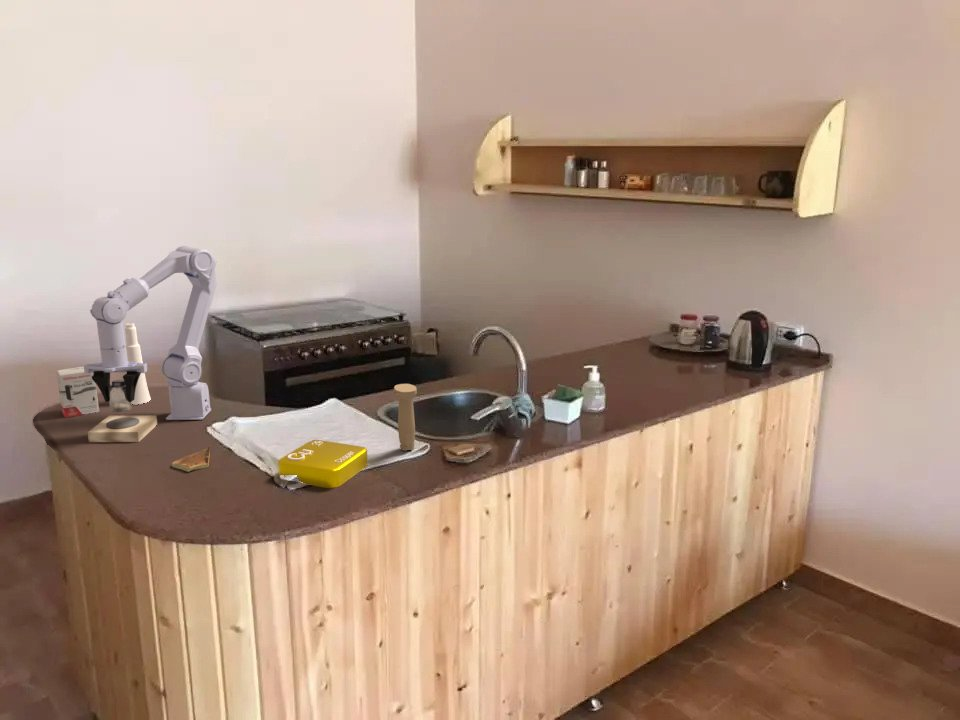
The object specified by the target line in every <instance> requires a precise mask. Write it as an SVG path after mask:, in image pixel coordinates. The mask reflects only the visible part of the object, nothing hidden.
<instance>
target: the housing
mask: <svg viewBox="0 0 960 720" xmlns="http://www.w3.org/2000/svg"><path fill="white" fill-rule="evenodd" d="M108 394H109V402H108V403H109V410H110V412H114V413H122V412H127V411H130V410H132V409H133V405H132V402H128V398H127V389H126V385H125V382H124V379H116V380H112V381H111V383H110V385H108Z"/></svg>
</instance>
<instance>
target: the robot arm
mask: <svg viewBox="0 0 960 720" xmlns="http://www.w3.org/2000/svg"><path fill="white" fill-rule="evenodd" d="M216 265H217V260H216V258H215V257H214V255H213V254H212V252H211V251H210V250H208V249H206V248H197V247H191V246H187V245H181V246H178V247H177V248H176V249H175V250H172V251H170V252H169V253H168V255H167V256H166V257H165V258H164V259H162V260H161V261H160V262H159V263H157V264H156V265H155V266H154V267H152V268H151V269H150V270H149V271H147V272H146V273H145V274H143V275H142V276H141V277H140V278H137V277H136V278H135V277H131V278H126V279H124V280H123V281H122V282H123V284H121V285H120V286H119V287H117V288H116V289H114V290H113V291H111V290H110V291H108V292H107V294H106V295H107V296H100V297H98V298H96V299H95V300H94V301H93V304H92V305H91V308H90V310H89V312H90V314H91V316H92V317H93V318H94V319H95V321H96V327H97V336H98V343H99V348H100V349H99V350H100V357H101V362H95V363H85V364H84V365H83V367H84V373H94V374H93V376H92V380H93V381H94V382H95V384H96V387H98V389H99V390H100V392H101V394H102V396H103V399H104V402H105V403H109V394H108V385H110V384H111V373H125V374H123V375H122V380H124V382H125V385H126V389H127V398H128V402H132V401H133V400H134V397H135V389H136V385H137V382H138V379H139V377H140V374H141V373H147V372H148V363H147V362H145V363H144V362H143V363H134V362H128V359H127V351H126V345H127V342H126V334H125V327H124V319H126V317H127V313H128V312H129V311H130V310H132V309H133V308H134V307H136V306H137V305H138V304H140V303H142V301H144V300H145V299H147V298H148V296H149V292H150V290H151V289H152V288H154V287H155V286H157V285H159V284H160V283H162V282H164V281H165V280H166V279H168V278H170V277H171V276H172V275H174V274H177V273H178V274H180V273H181V274H184V275H185V276H186V277H187V279H188V281H189V282H190V284H191V285H192V288H191V290H190V291H191V292H190V295H189V298H188V302H187V306H186V309H185V313H184V316H183V319H182V323H181V326H180V327H181V328H180V330H179V332H178V333H179V334H178V337H177V341H176V344H174V345H173V346H172V347H171V348H170V349H169V350H168V353H167V355H166V357H165V358H164V359H163V361H162V363H161V366H160V368H161V369H160V370H161V373H162V375H163V376H164V377H165V378H166V379H167V385H168V386H167V387H168V395H169V403H170V404H169V405H170V412H171V413H170V414H168V416H167V417H165V419H166V421H191V420H192V421H193V420H195V421H196V420H197V421H200V420H201V421H202V420H204V418H206V416H207V415H208V414H209V413H210V412H212V408H211V402H210V391H209V386H208V384H207V382H200V381H199V380H200V378H201V376H202V362H203V357H202V355H201V353H200V350H199V347H200V344H201V340H202V337H203V332H204V330H205V326H206V322H207V319H208V316H209V315H208V314H209V312H210V308H211V304H212V301H213V298H214V294H215V291H216V287H217V277H216V271H215V269H216V267H217V266H216Z"/></svg>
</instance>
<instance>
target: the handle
mask: <svg viewBox="0 0 960 720" xmlns="http://www.w3.org/2000/svg"><path fill="white" fill-rule="evenodd" d="M393 393H394V396H395V397H397V398H398V413H397V414H398V417H397V428H398V430H397V431H398V440H399V449H400V448H401V449H404V450H412V451H413V449H414V447H415V438H416V424H415V422H416V421H415V411H414V409H415V408H414V397H415V396H417V393H418V392H417V386H416V385H414V384H411V383H399V384H396V385H394V387H393ZM401 449H400V450H401ZM404 450H403V451H404Z"/></svg>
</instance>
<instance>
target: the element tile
mask: <svg viewBox="0 0 960 720" xmlns="http://www.w3.org/2000/svg"><path fill="white" fill-rule="evenodd" d="M367 463H369V462H368V449H367V448H366V447H365V446H360V445H353V444H347V443H341V442H333V441H330V440H329V441H327V440H320V439H312V440H310V441H308V442H306V443H304V444H302V445H301V446H299V447H298V448H296V449H295V450H293V451H291V452H289V453H288V454H286V455H284V456H283V457H281V458H280V459H278V461H277V466H278V469H277V470H278V476H279V475H284V476H285V475H297V477H298V479H299V481H301V482H303V483H305V484H304V485H310V486H314V487H318V488H319V487H320V488H324V489H325V488H326V489H336V488H339V487H341V486H342V485H343V484H345V483H346V482H347V481H348V480H350V479H352V478H353V477H354V476H356V475H357V474H358V473H360V472H361V471H362V470H364V469H366V468H367V467H368V465H367ZM366 466H367V467H366Z"/></svg>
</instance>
